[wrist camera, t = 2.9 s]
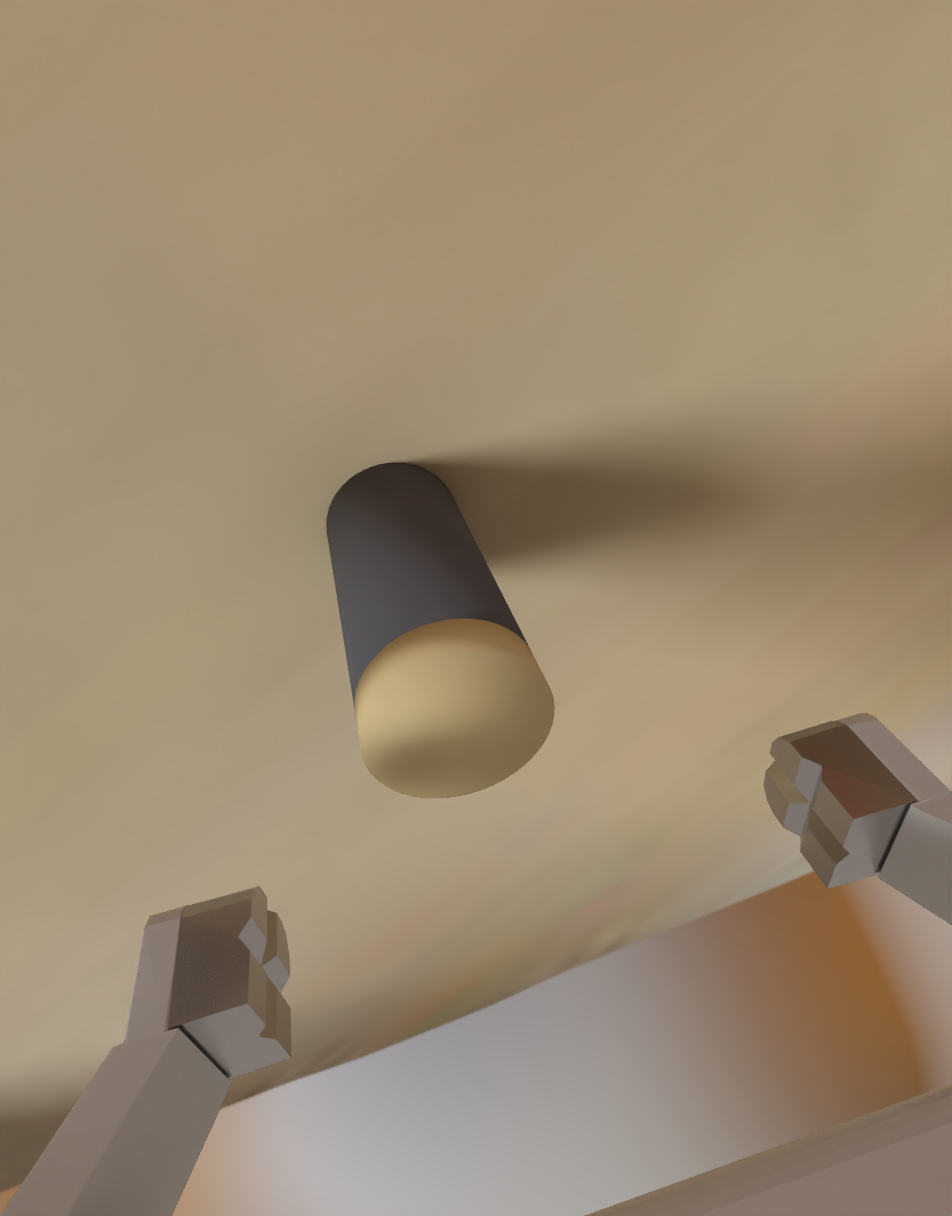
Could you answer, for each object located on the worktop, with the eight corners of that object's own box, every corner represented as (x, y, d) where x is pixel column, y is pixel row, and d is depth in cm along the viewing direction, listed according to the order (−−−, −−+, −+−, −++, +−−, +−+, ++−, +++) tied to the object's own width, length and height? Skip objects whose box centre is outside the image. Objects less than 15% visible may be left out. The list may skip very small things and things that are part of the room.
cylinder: (429, 591, 20) (505, 804, 14) (310, 564, 18) (334, 790, 12) (476, 484, 18) (587, 671, 12) (350, 445, 17) (401, 635, 11)
